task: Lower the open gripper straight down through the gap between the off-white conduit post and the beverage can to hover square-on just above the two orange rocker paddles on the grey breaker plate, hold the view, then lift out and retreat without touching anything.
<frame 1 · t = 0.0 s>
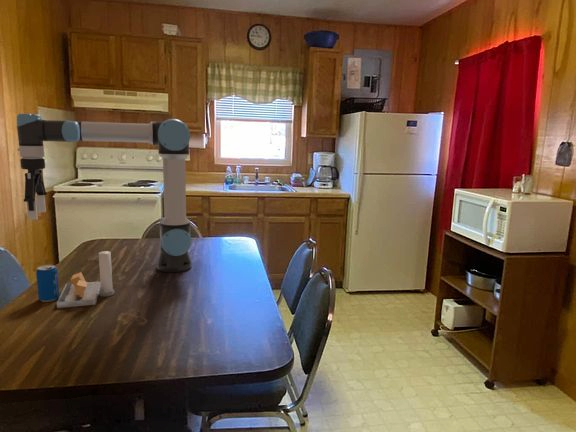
hand: (37, 215, 153), 28 cm above the table, fingers open, 13 cm apart
beverage can: (49, 299, 149), on the table
conduit post: (107, 294, 155), on the table
paddle a: (78, 281, 155), point 4 cm above the table, hinge at 20.0°
paddle b: (80, 289, 147), point 4 cm above the table, hinge at -20.0°
breaker plate: (80, 296, 152), on the table
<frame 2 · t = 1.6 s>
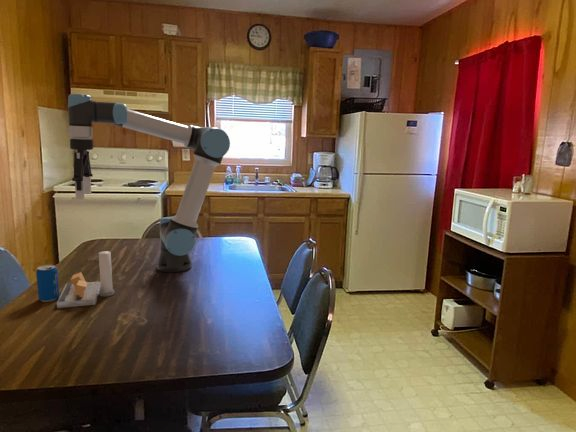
hand: (83, 196, 155), 35 cm above the table, fingers open, 13 cm apart
nothing on the table moved.
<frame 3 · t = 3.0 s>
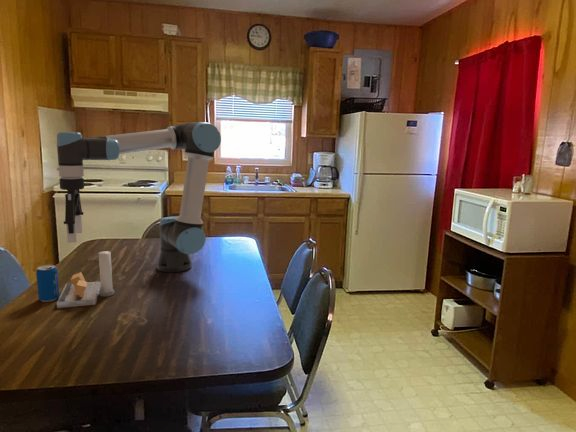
hand: (75, 237, 147), 22 cm above the table, fingers open, 13 cm apart
nothing on the table moved.
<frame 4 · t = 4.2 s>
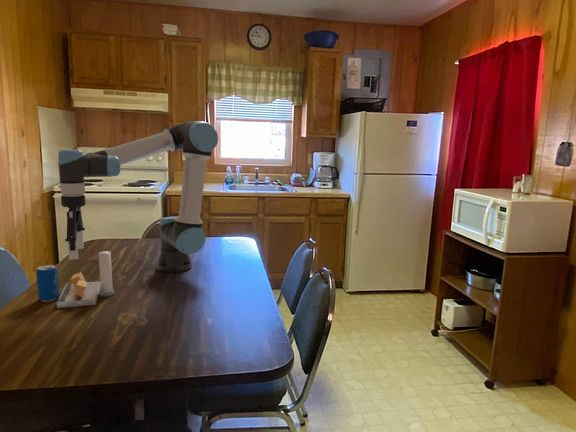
hand: (76, 253, 148), 16 cm above the table, fingers open, 13 cm apart
nothing on the table moved.
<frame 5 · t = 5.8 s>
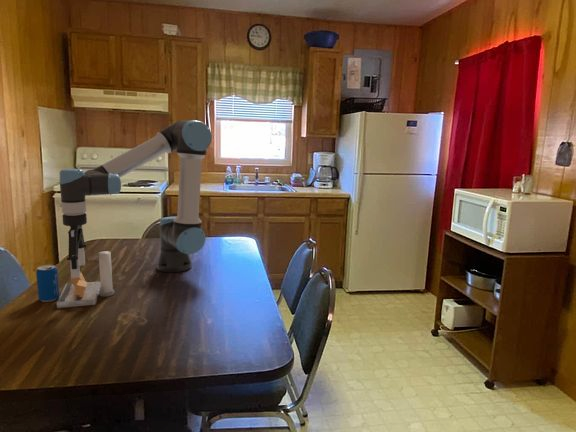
hand: (78, 271, 150), 10 cm above the table, fingers open, 13 cm apart
nothing on the table moved.
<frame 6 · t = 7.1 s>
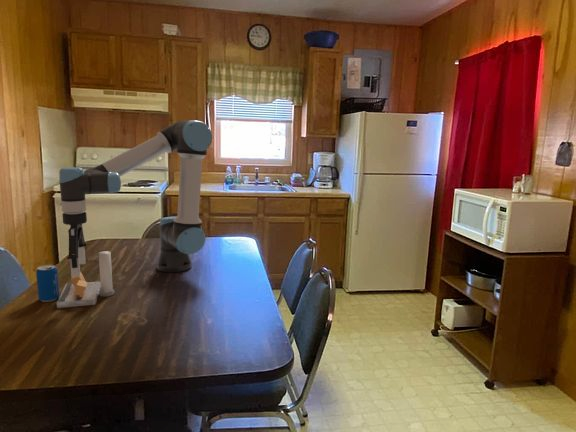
hand: (78, 269, 150), 10 cm above the table, fingers open, 13 cm apart
nothing on the table moved.
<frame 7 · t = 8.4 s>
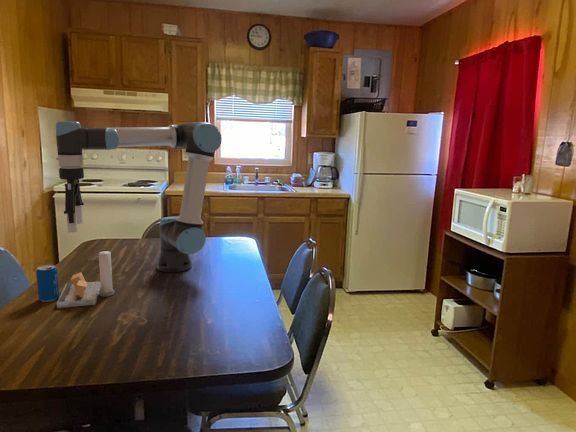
hand: (75, 227, 147), 26 cm above the table, fingers open, 13 cm apart
nothing on the table moved.
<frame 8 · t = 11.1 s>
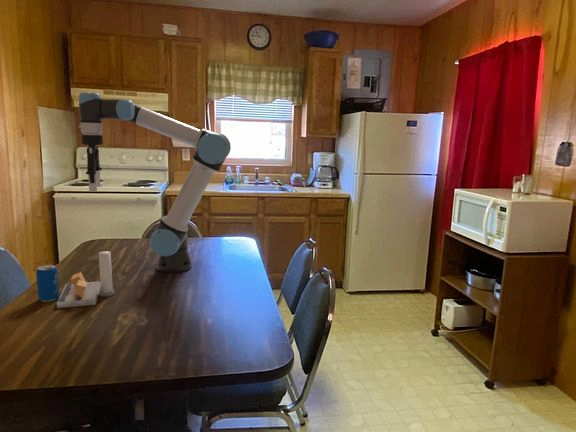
hand: (95, 189, 165), 37 cm above the table, fingers open, 13 cm apart
nothing on the table moved.
at the end: paddle a at +20° (first picture: +20°); paddle b at -20° (first picture: -20°); beverage can moved 0.2 cm from its start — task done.
